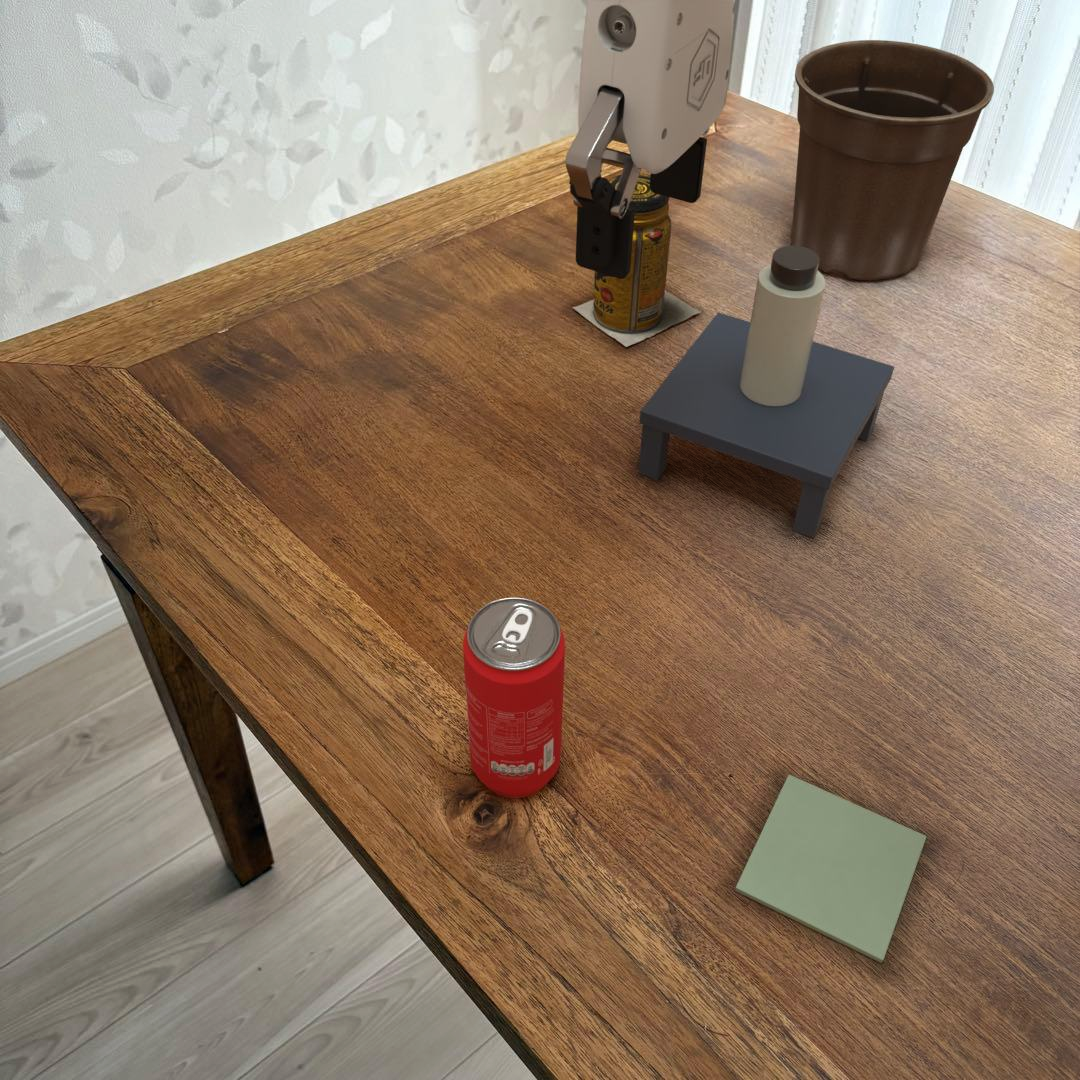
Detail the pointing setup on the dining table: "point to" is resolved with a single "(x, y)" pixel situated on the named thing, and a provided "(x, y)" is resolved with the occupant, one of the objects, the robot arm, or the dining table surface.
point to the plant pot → (879, 150)
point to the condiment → (639, 277)
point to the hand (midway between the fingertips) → (640, 231)
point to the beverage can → (514, 695)
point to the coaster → (833, 867)
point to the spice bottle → (782, 327)
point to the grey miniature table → (766, 414)
